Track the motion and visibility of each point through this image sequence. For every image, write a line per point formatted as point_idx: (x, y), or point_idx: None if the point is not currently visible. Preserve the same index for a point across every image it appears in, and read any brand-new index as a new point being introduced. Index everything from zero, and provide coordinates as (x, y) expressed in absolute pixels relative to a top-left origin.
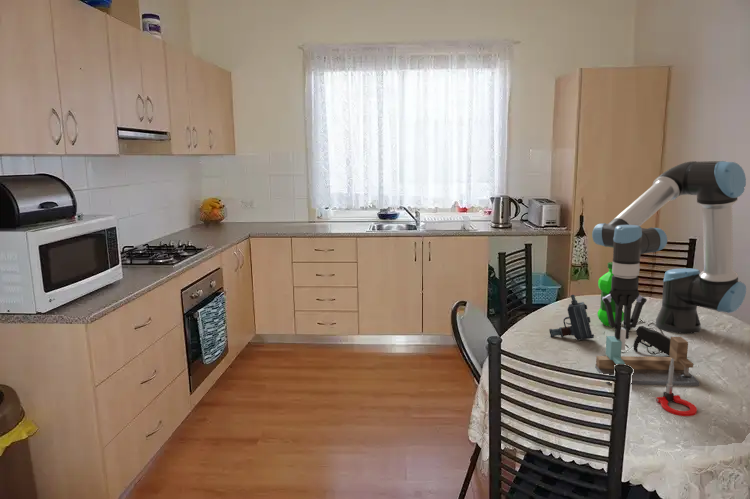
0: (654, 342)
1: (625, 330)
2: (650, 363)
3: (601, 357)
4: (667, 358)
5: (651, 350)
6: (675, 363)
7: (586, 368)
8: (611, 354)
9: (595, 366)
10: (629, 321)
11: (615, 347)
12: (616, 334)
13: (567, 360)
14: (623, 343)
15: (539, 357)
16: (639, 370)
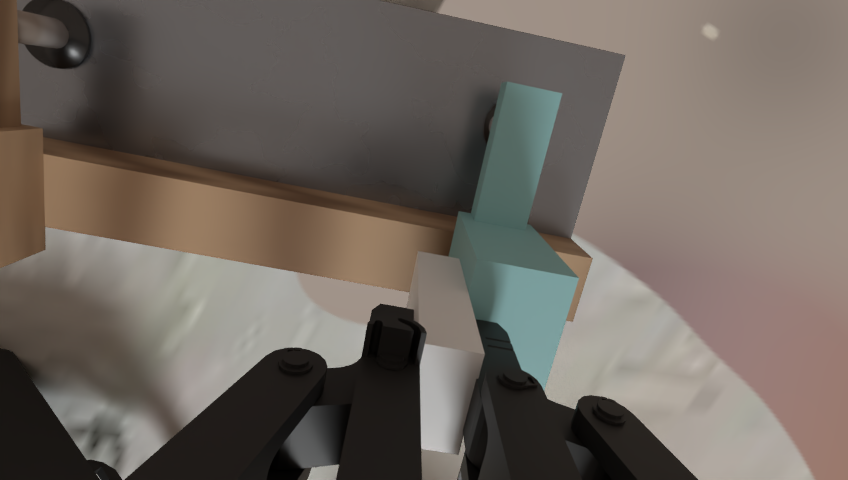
0: (51, 467)
1: (427, 341)
2: (235, 184)
3: None
4: (81, 203)
5: None
6: (53, 150)
7: (601, 292)
8: (537, 235)
9: None
10: (363, 425)
11: (521, 250)
12: (510, 349)
13: (641, 407)
14: (436, 275)
15: (766, 462)
16: (329, 171)
